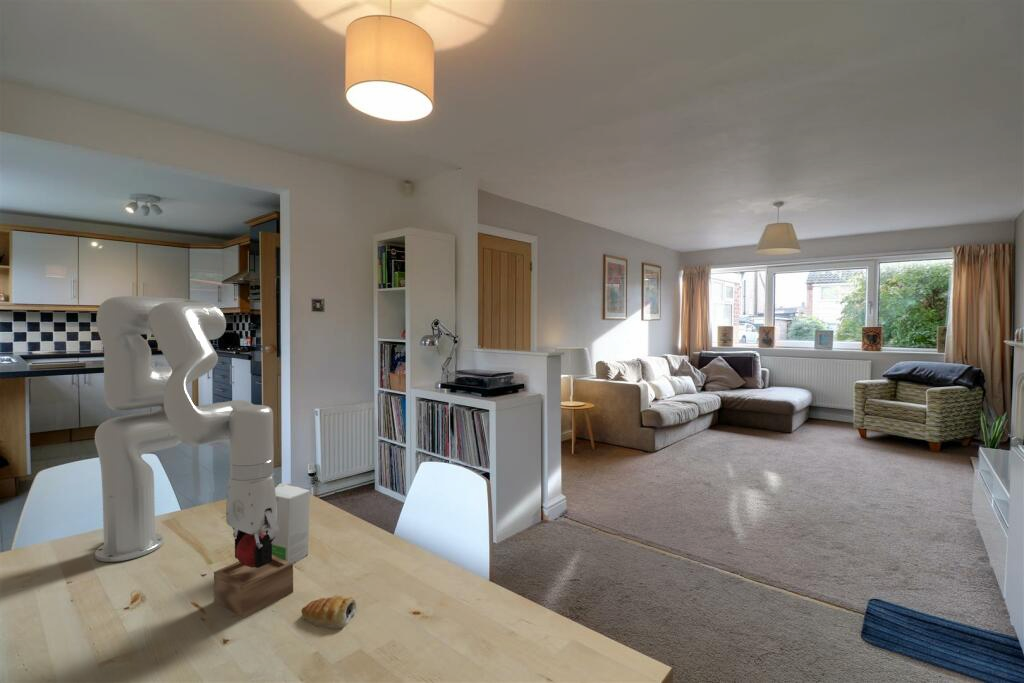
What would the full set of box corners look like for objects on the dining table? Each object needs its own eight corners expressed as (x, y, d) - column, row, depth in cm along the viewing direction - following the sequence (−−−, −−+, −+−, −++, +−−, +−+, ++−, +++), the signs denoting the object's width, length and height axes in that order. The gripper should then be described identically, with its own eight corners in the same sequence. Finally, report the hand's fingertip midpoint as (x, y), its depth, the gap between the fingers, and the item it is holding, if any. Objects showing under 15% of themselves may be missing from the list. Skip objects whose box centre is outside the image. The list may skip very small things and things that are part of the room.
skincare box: (260, 560, 110) (259, 492, 109) (284, 547, 116) (283, 483, 116) (288, 567, 107) (287, 498, 106) (311, 554, 113) (310, 488, 112)
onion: (255, 576, 92) (255, 535, 92) (229, 573, 93) (228, 532, 93) (276, 561, 98) (275, 522, 97) (251, 558, 99) (250, 519, 99)
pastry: (293, 627, 87) (293, 606, 87) (313, 605, 94) (313, 586, 93) (344, 632, 86) (343, 610, 86) (360, 609, 93) (360, 589, 92)
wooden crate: (214, 601, 94) (213, 572, 94) (263, 577, 103) (263, 551, 102) (244, 618, 89) (243, 587, 89) (293, 592, 98) (292, 563, 97)
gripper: (208, 467, 96) (209, 556, 97) (260, 483, 87) (261, 581, 88) (245, 457, 102) (246, 542, 103) (297, 472, 93) (298, 564, 94)
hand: (253, 559), depth 96 cm, fingers closed on onion, 5 cm apart
